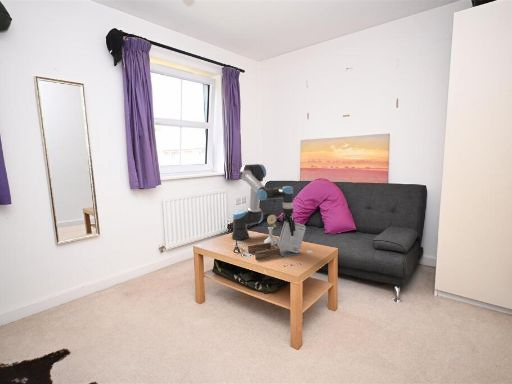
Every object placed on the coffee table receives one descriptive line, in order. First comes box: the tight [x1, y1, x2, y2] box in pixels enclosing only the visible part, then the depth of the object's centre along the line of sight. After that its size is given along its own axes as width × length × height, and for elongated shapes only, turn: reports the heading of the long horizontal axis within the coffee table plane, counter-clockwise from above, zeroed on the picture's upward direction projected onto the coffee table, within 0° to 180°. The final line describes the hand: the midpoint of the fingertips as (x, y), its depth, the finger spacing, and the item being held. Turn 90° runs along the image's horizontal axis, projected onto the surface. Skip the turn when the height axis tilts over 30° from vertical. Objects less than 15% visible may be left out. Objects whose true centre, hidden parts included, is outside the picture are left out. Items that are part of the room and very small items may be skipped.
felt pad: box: [280, 249, 302, 258], centre depth 199 cm, size 12×14×1 cm
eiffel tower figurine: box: [233, 236, 247, 254], centre depth 204 cm, size 15×10×13 cm
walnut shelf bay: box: [247, 242, 281, 261], centre depth 198 cm, size 16×18×5 cm
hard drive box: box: [277, 220, 307, 253], centre depth 197 cm, size 16×8×20 cm, turn 88°
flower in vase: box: [263, 214, 279, 246], centre depth 217 cm, size 13×11×25 cm
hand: (288, 238), depth 198 cm, fingers closed on hard drive box, 9 cm apart
